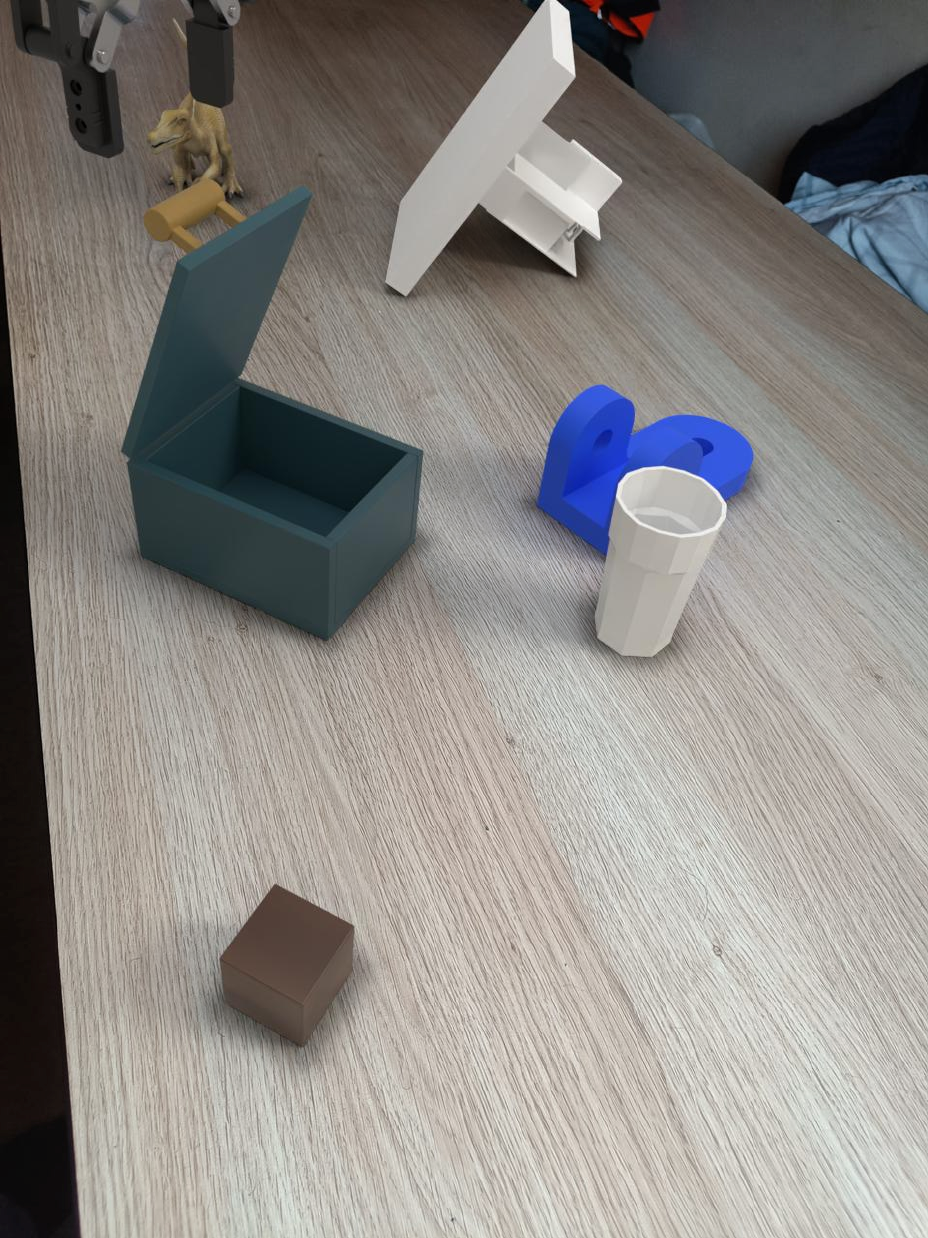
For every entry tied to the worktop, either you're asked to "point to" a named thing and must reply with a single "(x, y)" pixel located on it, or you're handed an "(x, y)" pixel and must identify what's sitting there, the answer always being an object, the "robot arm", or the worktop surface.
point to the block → (287, 964)
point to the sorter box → (277, 504)
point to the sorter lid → (209, 302)
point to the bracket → (628, 458)
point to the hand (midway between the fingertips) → (159, 126)
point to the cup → (654, 556)
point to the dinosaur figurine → (195, 141)
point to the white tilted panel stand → (508, 162)
